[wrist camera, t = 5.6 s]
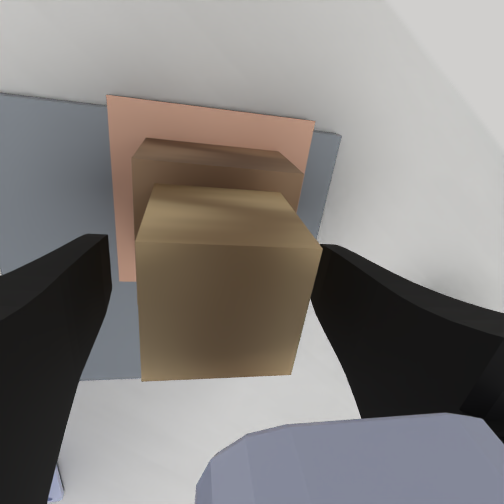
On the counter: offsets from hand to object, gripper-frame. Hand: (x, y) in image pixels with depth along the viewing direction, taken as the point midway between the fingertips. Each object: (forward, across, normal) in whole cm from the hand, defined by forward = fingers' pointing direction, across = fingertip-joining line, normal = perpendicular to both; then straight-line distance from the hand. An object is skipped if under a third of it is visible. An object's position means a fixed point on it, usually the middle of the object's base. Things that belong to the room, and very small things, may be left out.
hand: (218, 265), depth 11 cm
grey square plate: (+7, +2, +4) cm, 8 cm away
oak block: (+2, 0, 0) cm, 2 cm away
